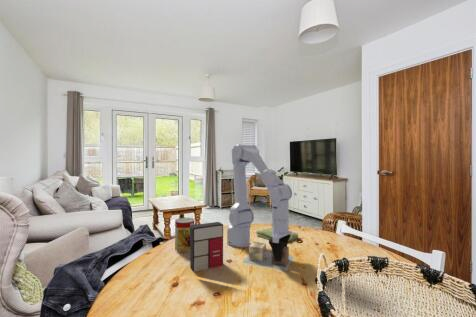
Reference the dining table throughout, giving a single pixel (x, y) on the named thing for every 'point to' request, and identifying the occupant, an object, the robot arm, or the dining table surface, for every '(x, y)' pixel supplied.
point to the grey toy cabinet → (206, 246)
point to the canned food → (183, 234)
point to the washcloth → (268, 235)
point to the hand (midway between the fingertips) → (280, 256)
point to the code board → (269, 262)
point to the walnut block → (284, 257)
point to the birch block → (257, 251)
